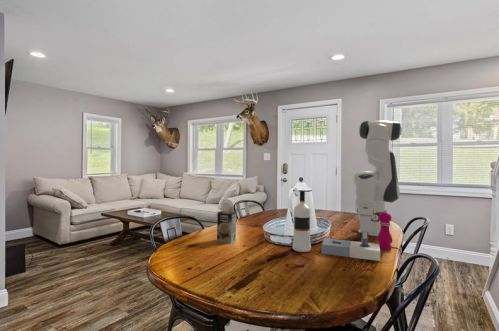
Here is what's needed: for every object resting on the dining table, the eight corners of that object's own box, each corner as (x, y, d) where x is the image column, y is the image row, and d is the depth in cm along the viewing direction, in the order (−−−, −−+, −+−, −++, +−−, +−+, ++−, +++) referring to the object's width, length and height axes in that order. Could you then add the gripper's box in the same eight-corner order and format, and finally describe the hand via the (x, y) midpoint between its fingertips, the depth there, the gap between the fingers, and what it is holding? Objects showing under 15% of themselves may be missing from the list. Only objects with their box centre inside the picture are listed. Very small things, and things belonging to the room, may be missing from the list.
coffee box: (216, 241, 158) (216, 212, 158) (222, 238, 164) (222, 210, 164) (231, 243, 154) (231, 213, 154) (236, 240, 160) (236, 211, 160)
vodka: (291, 247, 149) (291, 189, 148) (308, 246, 149) (309, 189, 148) (294, 252, 139) (295, 191, 139) (313, 252, 140) (313, 191, 139)
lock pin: (360, 253, 139) (361, 224, 139) (368, 254, 138) (368, 225, 137) (360, 255, 136) (361, 226, 136) (368, 256, 134) (369, 227, 134)
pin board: (324, 246, 150) (324, 238, 150) (379, 253, 140) (379, 243, 140) (321, 253, 139) (321, 244, 138) (380, 261, 129) (380, 251, 129)
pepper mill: (394, 250, 144) (394, 211, 143) (378, 249, 145) (379, 210, 145) (390, 246, 151) (390, 208, 150) (375, 245, 152) (376, 208, 152)
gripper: (358, 204, 147) (358, 231, 147) (357, 211, 128) (357, 241, 128) (372, 205, 145) (371, 232, 145) (373, 212, 126) (372, 243, 126)
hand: (364, 237), depth 137 cm, fingers closed on lock pin, 3 cm apart
